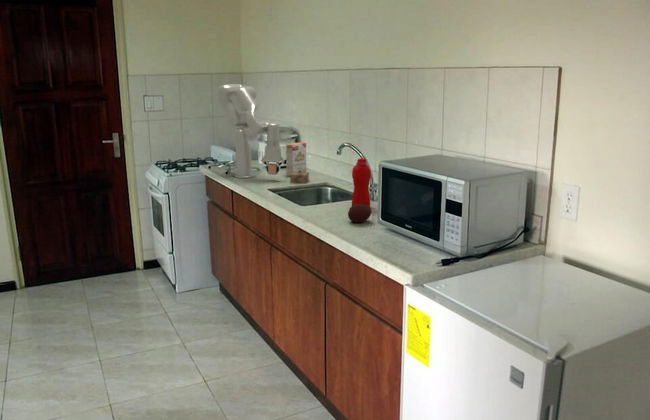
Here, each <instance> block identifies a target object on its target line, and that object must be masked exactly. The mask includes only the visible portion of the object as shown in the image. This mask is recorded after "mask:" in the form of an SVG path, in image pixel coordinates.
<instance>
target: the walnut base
mask: <svg viewBox="0 0 650 420" xmlns="http://www.w3.org/2000/svg"><path fill="white" fill-rule="evenodd" d="M309 173H310V172H308V171H306V172H292V174H291V175H290V176H289V177H290V178H289V179H290V181H289V182H290V184H308V182H309V180H310V179H309V178H310V177H309V175H310V174H309Z"/></svg>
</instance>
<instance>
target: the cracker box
mask: <svg viewBox="0 0 650 420" xmlns="http://www.w3.org/2000/svg"><path fill="white" fill-rule="evenodd" d="M285 147H286V148H285V149H286V152H285V153H286V154H285V155H286V159H285V160H286V161H285V162H286V167H285V171H286V173H285V174H286V177H290V175H291V174H292V172H307V143H306V142H302V141H300V142H293V143H287V144H286V145H285Z"/></svg>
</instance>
